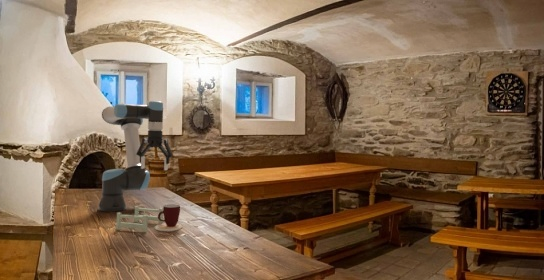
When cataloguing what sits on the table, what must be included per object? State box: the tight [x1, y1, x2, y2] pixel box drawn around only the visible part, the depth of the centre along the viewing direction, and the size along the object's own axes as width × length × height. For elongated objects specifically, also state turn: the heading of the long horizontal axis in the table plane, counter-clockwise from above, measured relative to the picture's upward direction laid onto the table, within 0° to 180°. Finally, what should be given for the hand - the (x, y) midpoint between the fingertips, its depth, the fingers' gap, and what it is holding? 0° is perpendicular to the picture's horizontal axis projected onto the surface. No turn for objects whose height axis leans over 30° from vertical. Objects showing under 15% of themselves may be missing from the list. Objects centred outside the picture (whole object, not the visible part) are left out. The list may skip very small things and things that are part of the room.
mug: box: [157, 203, 181, 227], centre depth 202 cm, size 11×8×10 cm
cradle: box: [116, 205, 164, 233], centre depth 203 cm, size 15×18×8 cm
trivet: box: [154, 222, 183, 232], centre depth 202 cm, size 13×13×1 cm
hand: (154, 169), depth 221 cm, fingers open, 13 cm apart
